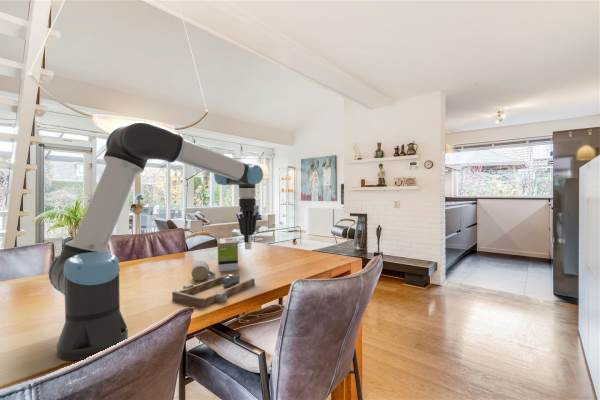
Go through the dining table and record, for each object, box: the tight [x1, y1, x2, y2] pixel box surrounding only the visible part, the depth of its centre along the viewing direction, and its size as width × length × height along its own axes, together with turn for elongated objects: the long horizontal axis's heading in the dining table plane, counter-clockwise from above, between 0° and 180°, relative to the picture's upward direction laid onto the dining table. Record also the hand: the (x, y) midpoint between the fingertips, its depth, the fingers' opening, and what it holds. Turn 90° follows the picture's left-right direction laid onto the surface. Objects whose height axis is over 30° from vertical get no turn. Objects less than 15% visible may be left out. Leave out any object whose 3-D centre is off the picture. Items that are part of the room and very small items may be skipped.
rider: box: [222, 273, 241, 289], centre depth 124 cm, size 7×7×5 cm
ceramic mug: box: [190, 260, 217, 282], centre depth 134 cm, size 11×8×8 cm
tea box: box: [216, 237, 239, 272], centre depth 155 cm, size 15×10×15 cm, turn 17°
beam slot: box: [171, 273, 255, 309], centre depth 117 cm, size 29×20×3 cm
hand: (248, 249), depth 134 cm, fingers closed
